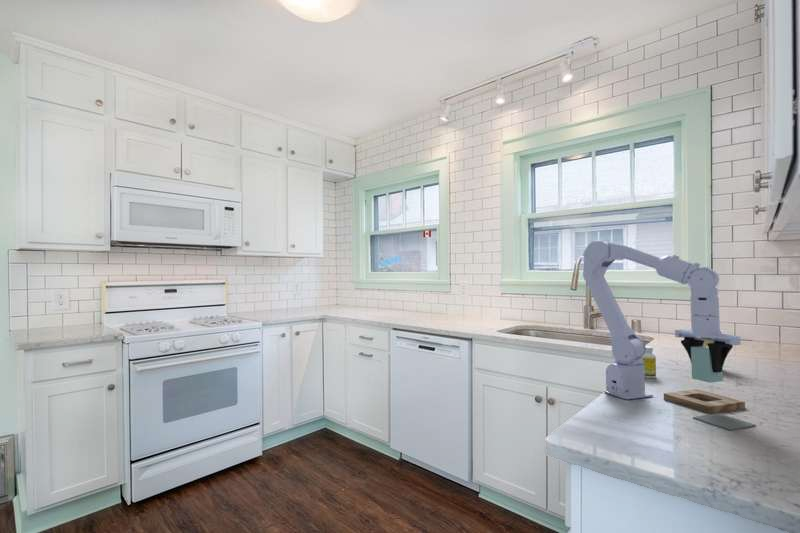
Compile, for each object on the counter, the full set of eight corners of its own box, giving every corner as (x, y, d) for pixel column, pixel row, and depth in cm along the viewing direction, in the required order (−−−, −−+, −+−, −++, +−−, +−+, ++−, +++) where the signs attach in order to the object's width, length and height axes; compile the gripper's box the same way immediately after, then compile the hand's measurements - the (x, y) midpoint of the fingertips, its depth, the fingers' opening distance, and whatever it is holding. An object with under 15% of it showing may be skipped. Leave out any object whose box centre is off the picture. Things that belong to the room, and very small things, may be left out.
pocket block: (710, 413, 96) (709, 406, 96) (663, 399, 108) (663, 393, 108) (745, 408, 100) (744, 401, 100) (696, 394, 111) (696, 389, 111)
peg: (710, 382, 98) (708, 349, 98) (692, 378, 102) (690, 346, 102) (722, 381, 99) (721, 348, 99) (704, 377, 103) (703, 345, 103)
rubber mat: (730, 430, 85) (730, 429, 85) (692, 418, 93) (692, 416, 93) (756, 426, 88) (756, 424, 88) (717, 414, 95) (717, 413, 95)
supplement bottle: (659, 378, 129) (658, 348, 129) (640, 378, 130) (639, 347, 130) (652, 374, 134) (651, 345, 135) (634, 374, 136) (633, 345, 136)
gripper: (748, 317, 95) (750, 374, 95) (687, 312, 109) (689, 363, 108) (727, 318, 93) (729, 377, 93) (668, 313, 107) (670, 365, 106)
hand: (706, 369), depth 100 cm, fingers closed on peg, 4 cm apart
